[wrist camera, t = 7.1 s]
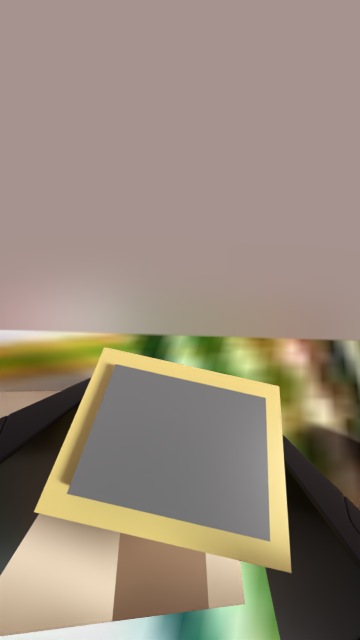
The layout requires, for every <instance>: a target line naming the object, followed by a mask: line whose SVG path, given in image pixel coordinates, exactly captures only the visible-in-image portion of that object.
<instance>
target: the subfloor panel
mask: <svg viewBox="0 0 360 640" xmlns="http://www.w3.org/2000/svg"><path fill="white" fill-rule="evenodd" d="M58 392H60V391H0V418H2V417H4V416H8V415H9V414H11V413H13V412H15V411H17V410H20V409H22V408H24V407H26V406H29V405H31V404H33V403H35V402H38V401H40V400H42V399H44V398H47V397H49V396H51V395H53V394H55V393H58ZM241 604H245V601H244V592H243V583H242V574H241V566H240V561H238V560H234V559H230V558H226V557H221V556H217V555H213V554H209V553H205V552H200V551H196V550H192V549H188V548H183V547H179V546H175V545H171V544H167V543H162V542H158V541H154V540H150V539H145V538H141V537H137V536H133V535H129V534H124V533H120V532H116V531H112V530H108V529H103V528H99V527H95V526H91V525H86V524H82V523H78V522H74V521H70V520H65V519H61V518H57V517H53V516H48V515H44V514H40V513H39V515H38V517H37V518H36V520H35V521H34V523H33V525H32V526H31V528H30V529H29V531H28V533H27V534H26V536H25V537H24V539H23V540H22V542H21V544H20V545H19V547H18V548H17V550H16V552H15V553H14V555H13V556H12V558H11V560H10V561H9V563H8V564H7V566H6V568H5V569H4V571H3V572H2V574H1V575H0V636H6V635H13V634H21V633H29V632H36V631H44V630H51V629H59V628H66V627H74V626H82V625H89V624H97V623H104V622H112V621H120V620H127V619H135V618H142V617H150V616H157V615H165V614H173V613H180V612H188V611H195V610H203V609H211V608H218V607H226V606H233V605H241Z"/></svg>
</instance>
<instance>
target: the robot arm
mask: <svg viewBox="0 0 360 640" xmlns="http://www.w3.org/2000/svg"><path fill="white" fill-rule="evenodd" d="M90 380H91V378H89V379H87V380H85V381H82V382H80V383H78V384H76V385H73V386H71V387H69V388H67V389H64V390H62V391H60V392H58V393H55V394H53V395H51V396H49V397H47V398H44V399H42V400H40V401H38V402H35V403H33V404H31V405H29V406H26V407H24V408H22V409H20V410H17V411H15V412H13V413H11V414H9V415H8V416H4V417H2V418H0V575H1V574H2V572H3V571H4V569H5V568H6V566H7V564H8V563H9V561H10V560H11V558H12V556H13V555H14V553H15V552H16V550H17V548H18V547H19V545H20V544H21V542H22V540H23V539H24V537H25V536H26V534H27V533H28V531H29V529H30V528H31V526H32V525H33V523H34V521H35V520H36V518H37V517H38V515H39V513H36V512H34V511H35V508H36V506H37V504H38V501H39V499H40V497H41V494H42V492H43V490H44V487H45V485H46V483H47V480H48V478H49V476H50V473H51V471H52V469H53V466H54V464H55V462H56V459H57V457H58V455H59V452H60V450H61V448H62V445H63V443H64V441H65V438H66V436H67V434H68V431H69V429H70V427H71V424H72V422H73V420H74V417H75V415H76V413H77V410H78V408H79V405H80V403H81V401H82V398H83V396H84V394H85V391H86V389H87V387H88V384H89V382H90ZM282 437H283V452H284V467H285V482H286V497H287V512H288V528H289V543H290V558H291V573H289V572H285V571H281V570H276V569H272V568H268V567H265V568H266V573H267V578H268V583H269V587H270V592H271V597H272V602H273V607H274V611H275V616H276V621H277V626H278V630H279V635H280V640H360V510H359V509H358V508H357V507H356V506H355V505H354V504H353V503H352V502H351V501H350V500H349V499H348V498H347V497H345V496H343V494H342V492H340V491H339V490H338V489H337V488H336V487H335V486H334V485H333V484H332V483H331V482H330V481H329V480H328V479H327V478H326V477H325V476H324V475H323V474H322V473H321V472H320V471H319V470H318V469H317V468H316V467H315V466H314V465H313V464H312V463H311V462H310V461H309V460H308V459H307V458H306V457H305V456H304V455H303V454H302V453H301V452H300V451H299V450H298V449H297V448H296V447H295V446H294V445H293V444H292V443H291V442H290V441H289V440H288V439H287V438H286V437H285V436H284V435H283V434H282Z"/></svg>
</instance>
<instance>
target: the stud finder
mask: <svg viewBox="0 0 360 640" xmlns="http://www.w3.org/2000/svg"><path fill="white" fill-rule="evenodd" d="M34 512H36V513H40V514H44V515H48V516H53V517H57V518H61V519H65V520H70V521H74V522H78V523H82V524H86V525H91V526H95V527H99V528H103V529H108V530H112V531H116V532H120V533H124V534H129V535H133V536H137V537H141V538H145V539H150V540H154V541H158V542H162V543H167V544H171V545H175V546H179V547H183V548H188V549H192V550H196V551H200V552H205V553H209V554H213V555H217V556H221V557H226V558H230V559H234V560H238V561H243V562H247V563H251V564H255V565H259V566H264V567H268V568H272V569H276V570H281V571H285V572H289V573H291V558H290V543H289V528H288V512H287V497H286V482H285V467H284V452H283V437H282V422H281V406H280V391H279V386H275V385H270V384H266V383H261V382H257V381H253V380H248V379H244V378H239V377H235V376H230V375H226V374H221V373H217V372H212V371H208V370H204V369H199V368H195V367H190V366H186V365H181V364H177V363H172V362H168V361H164V360H159V359H155V358H150V357H146V356H141V355H137V354H132V353H128V352H123V351H119V350H115V349H110V348H106V347H104V349H103V352H102V354H101V356H100V359H99V361H98V363H97V366H96V368H95V370H94V373H93V375H92V377H91V380H90V382H89V384H88V387H87V389H86V391H85V394H84V396H83V398H82V401H81V403H80V405H79V408H78V410H77V413H76V415H75V417H74V420H73V422H72V424H71V427H70V429H69V431H68V434H67V436H66V438H65V441H64V443H63V445H62V448H61V450H60V452H59V455H58V457H57V459H56V462H55V464H54V466H53V469H52V471H51V473H50V476H49V478H48V480H47V483H46V485H45V487H44V490H43V492H42V494H41V497H40V499H39V501H38V504H37V506H36V508H35V511H34Z"/></svg>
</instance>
